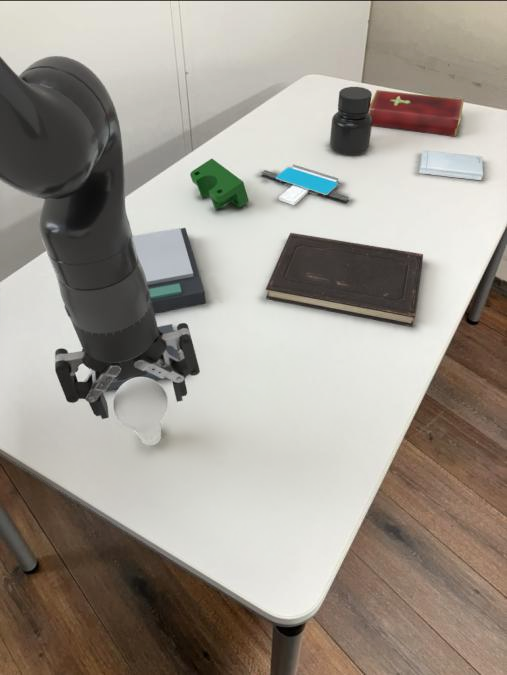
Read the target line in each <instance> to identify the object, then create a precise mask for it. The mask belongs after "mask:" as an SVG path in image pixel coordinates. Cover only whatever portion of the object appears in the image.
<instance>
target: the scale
mask: <svg viewBox="0 0 507 675" xmlns="http://www.w3.org/2000/svg"><path fill="white" fill-rule="evenodd" d="M133 239H134V243H135V247H136V251H137V255H138V259H139V261H140V264H141V266H142V268H143V270H144V273H145V277H146V280H147V285H148V289H149V291H150V297H151V301H152V306H153V310H154V314H157V313H163V312H167V311H168V312H169V311H172V310H178V309H182V308H183V309H184V308H188V307H194V306H199V305H203V304H207V300H206V292H205V289H204V285H203V282H202V278H201V275H200V272H199V268H198V265H197V262H196V259H195V255H194V251H193V249H192V244H191V241H190V239H189V235H188V232H187V229H186V227H182V228H181V227H177V228H171V229H165V230H160V231H154V232H148V233H147V232H146V233H142V234H137V235H133Z"/></svg>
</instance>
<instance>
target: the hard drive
mask: <svg viewBox="0 0 507 675" xmlns="http://www.w3.org/2000/svg"><path fill="white" fill-rule="evenodd" d="M419 163H420V164H419V171H418V172H419V174H422V175H433V176H440V177H448V178H449V177H450V178H458V179H466V180H475V181H482V179H483V176H484V164H483V156H482V155H475V154H466V153H458V152H457V153H455V152H446V151H439V150H438V151H437V150H426V149H423V150H422V152H421V157H420V162H419Z"/></svg>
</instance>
